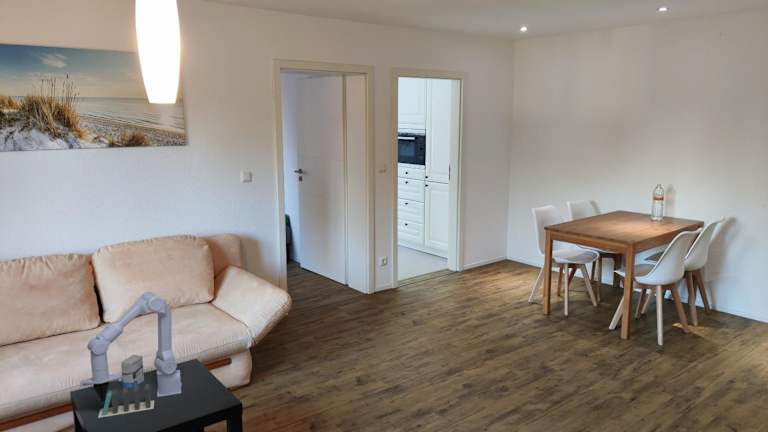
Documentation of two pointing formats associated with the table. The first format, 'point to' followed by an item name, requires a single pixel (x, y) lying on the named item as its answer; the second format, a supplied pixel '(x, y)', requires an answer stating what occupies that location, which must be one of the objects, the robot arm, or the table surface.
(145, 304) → the robot arm
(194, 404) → the table surface
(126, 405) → the tile
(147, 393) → the tile
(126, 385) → the ink box
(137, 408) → the tile
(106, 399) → the tile teal
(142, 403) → the mat
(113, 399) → the tile
